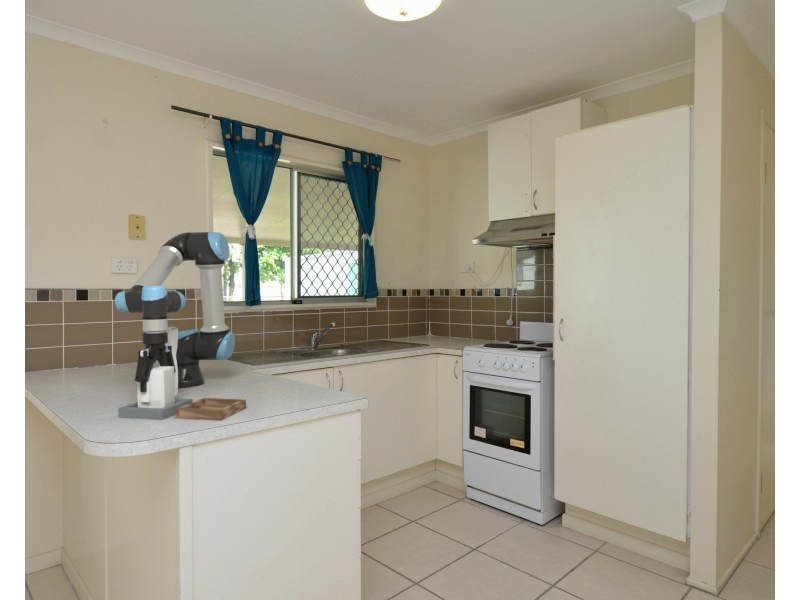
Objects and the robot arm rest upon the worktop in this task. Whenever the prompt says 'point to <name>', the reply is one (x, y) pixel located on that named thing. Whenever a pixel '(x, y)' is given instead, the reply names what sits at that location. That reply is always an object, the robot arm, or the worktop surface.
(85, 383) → the worktop surface
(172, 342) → the skyscraper
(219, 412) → the tray
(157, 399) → the supplement box
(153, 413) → the gray square tray
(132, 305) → the robot arm
